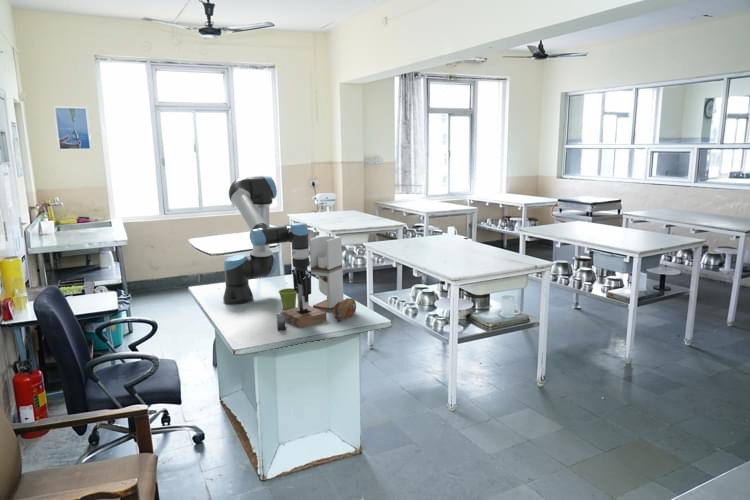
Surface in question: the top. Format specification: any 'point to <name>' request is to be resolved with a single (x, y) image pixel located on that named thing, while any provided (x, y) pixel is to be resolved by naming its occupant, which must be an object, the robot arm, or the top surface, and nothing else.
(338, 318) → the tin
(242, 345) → the top surface
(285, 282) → the top surface
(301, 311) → the tall pin
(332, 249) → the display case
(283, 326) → the short pin
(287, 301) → the plant pot
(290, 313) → the hole block
